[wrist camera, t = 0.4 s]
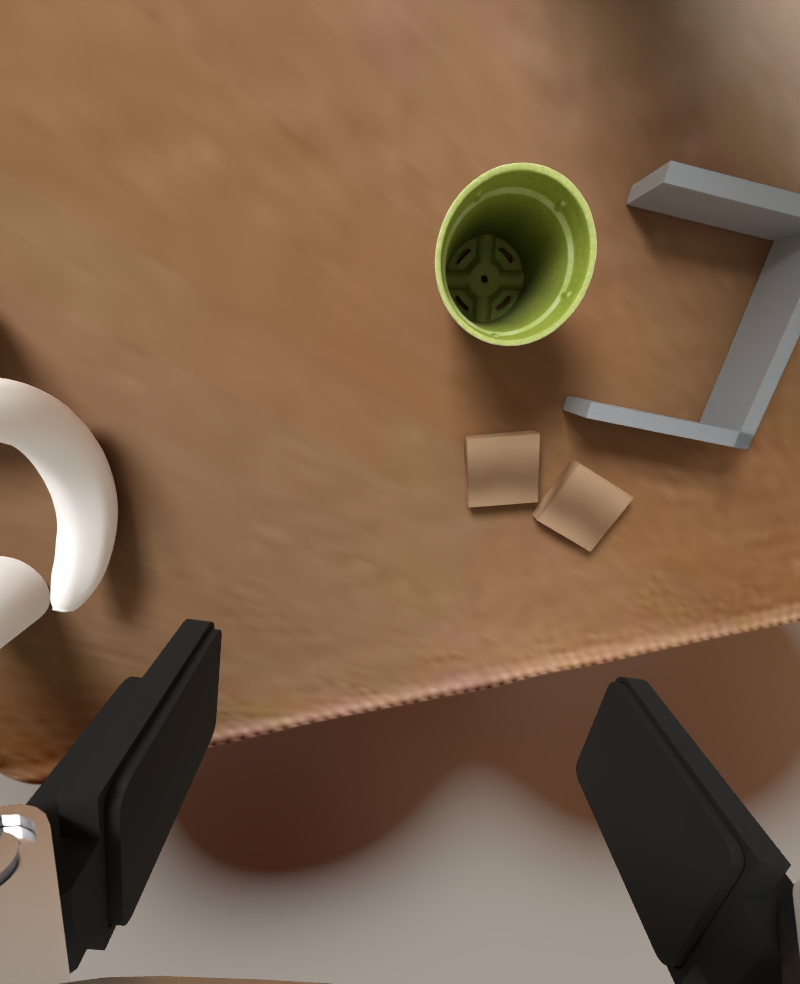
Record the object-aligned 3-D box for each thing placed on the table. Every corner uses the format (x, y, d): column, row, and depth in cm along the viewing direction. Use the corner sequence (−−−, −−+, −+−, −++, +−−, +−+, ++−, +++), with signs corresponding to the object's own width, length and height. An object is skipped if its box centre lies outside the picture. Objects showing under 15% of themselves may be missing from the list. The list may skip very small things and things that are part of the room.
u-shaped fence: (631, 185, 31) (670, 160, 27) (795, 226, 32) (857, 208, 28) (562, 409, 36) (585, 417, 32) (706, 438, 37) (747, 449, 33)
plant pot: (570, 276, 33) (630, 253, 25) (482, 371, 35) (511, 378, 27) (485, 179, 31) (521, 118, 23) (397, 286, 33) (401, 265, 25)
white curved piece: (92, 582, 40) (-64, 705, 26) (38, 370, 34) (-200, 386, 20) (145, 581, 40) (18, 704, 26) (101, 370, 34) (-93, 386, 20)
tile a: (463, 434, 37) (467, 439, 35) (532, 429, 37) (540, 433, 35) (464, 499, 39) (468, 507, 37) (530, 494, 39) (537, 502, 37)
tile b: (570, 457, 38) (580, 463, 36) (621, 490, 39) (633, 497, 37) (530, 512, 40) (537, 520, 38) (580, 542, 41) (590, 551, 39)
